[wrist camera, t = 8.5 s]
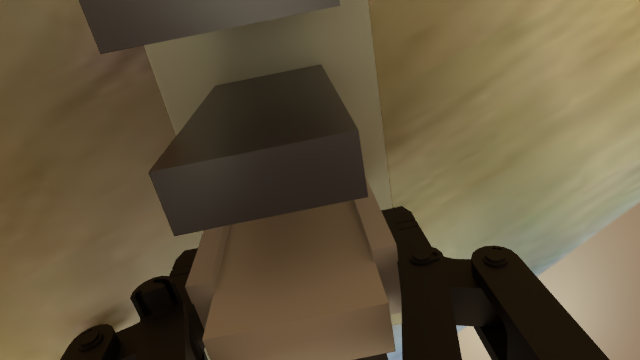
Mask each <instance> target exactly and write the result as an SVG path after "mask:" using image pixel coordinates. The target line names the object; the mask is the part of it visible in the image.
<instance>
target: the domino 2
mask: <svg viewBox="0 0 640 360" xmlns="http://www.w3.org/2000/svg"><path fill="white" fill-rule="evenodd" d="M149 175H150V177H151V180H152V182H153V185H154V187H155V190H156V192H157V195H158V197H159V200H160V202H161V205H162V207H163V210H164V212H165V214H166V217H167V219H168V222H169V224H170V227H171V229H172V232H173V234H174V236H178V235H183V234H187V233H192V232H197V231H202V230H207V229H212V228H217V227H222V226H227V225H232V224H237V223H242V222H247V221H252V220H257V219H262V218H267V217H272V216H277V215H282V214H287V213H292V212H297V211H302V210H307V209H312V208H317V207H321V206H326V205H331V204H336V203H341V202H346V201H351V200H356V199H361V198H366V197H368V192H367V185H366V178H365V171H364V164H363V157H362V151H361V144H360V137H359V130H358V128H357V127H356V125H355V123H354V121H353V119H352V118H351V116H350V114H349V112H348V111H347V109H346V107H345V105H344V104H343V102H342V100H341V98H340V97H339V95H338V93H337V91H336V89H335V88H334V86H333V84H332V82H331V81H330V79H329V77H328V75H327V74H326V72H325V70H324V68H323V67H322V65H321V64H320V65H315V66H310V67H305V68H300V69H295V70H290V71H285V72H280V73H275V74H270V75H265V76H260V77H255V78H251V79H246V80H241V81H236V82H231V83H226V84H221V85H216V86H214V88H213V89H212V90H211V91H210V93H209V94H208V95H207V97H206V98H205V99H204V101H203V102H202V103H201V105H200V106H199V107H198V108H197V110H196V111H195V112H194V114H193V115H192V116H191V118H190V119H189V120H188V121H187V123H186V124H185V125H184V127H183V128H182V129H181V131H180V132H179V133H178V134H177V136H176V137H175V138H174V140H173V141H172V142H171V144H170V145H169V146H168V148H167V149H166V150H165V151H164V153H163V154H162V155H161V157H160V158H159V159H158V161H157V162H156V163H155V164H154V166H153V167H152V168H151V170H150V171H149Z"/></svg>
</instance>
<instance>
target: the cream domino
mask: <svg viewBox="0 0 640 360" xmlns="http://www.w3.org/2000/svg"><path fill="white" fill-rule="evenodd" d="M202 340H203V343H204V345H205V348H206V350H207V352H208V355H209V357H210V359H211V360H354V359H359V358H364V357H369V356H374V355H379V354H384V353H389V352H394V351H395V344H394V337H393V330H392V322H391V315H390V308H389V302H388V299H387V296H386V293H385V290H384V287H383V285H382V282H381V279H380V276H379V273H378V270H377V267H376V264H375V262H373V259H372V256H371V253H370V250H369V247H368V244H367V241H366V238H365V235H364V232H363V229H362V226H361V223H360V220H359V217H358V214H357V212H356V209H355V206H354V203H353V200H351V201H346V202H341V203H336V204H331V205H326V206H321V207H317V208H312V209H307V210H302V211H297V212H292V213H287V214H282V215H277V216H272V217H267V218H262V219H257V220H252V221H247V222H242V223H237V224H232V225H231V226H230V230H229V235H228V239H227V243H226V247H225V252H224V256H223V260H222V264H221V269H220V273H219V277H218V281H217V286H216V290H215V294H214V295H213V298H212V302H211V306H210V310H209V314H208V318H207V323H206V327H205V331H204V335H203V339H202Z"/></svg>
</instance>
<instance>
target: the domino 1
mask: <svg viewBox="0 0 640 360" xmlns="http://www.w3.org/2000/svg"><path fill="white" fill-rule="evenodd" d="M79 2H80V5H81V7H82V9H83V12H84V14H85V17H86V19H87V22H88V24H89V27H90V29H91V32H92V34H93V37H94V39H95V42H96V44H97V47H98V49H99V51H100V54H104V53H109V52H114V51H119V50H124V49H129V48H134V47H139V46H143V45H148V44H153V43H158V42H163V41H168V40H173V39H178V38H183V37H188V36H193V35H198V34H203V33H208V32H213V31H218V30H223V29H228V28H233V27H238V26H243V25H248V24H253V23H258V22H263V21H268V20H273V19H278V18H282V17H287V16H292V15H297V14H302V13H307V12H312V11H317V10H322V9H327V8H332V7H337V6H340V0H79Z"/></svg>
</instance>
